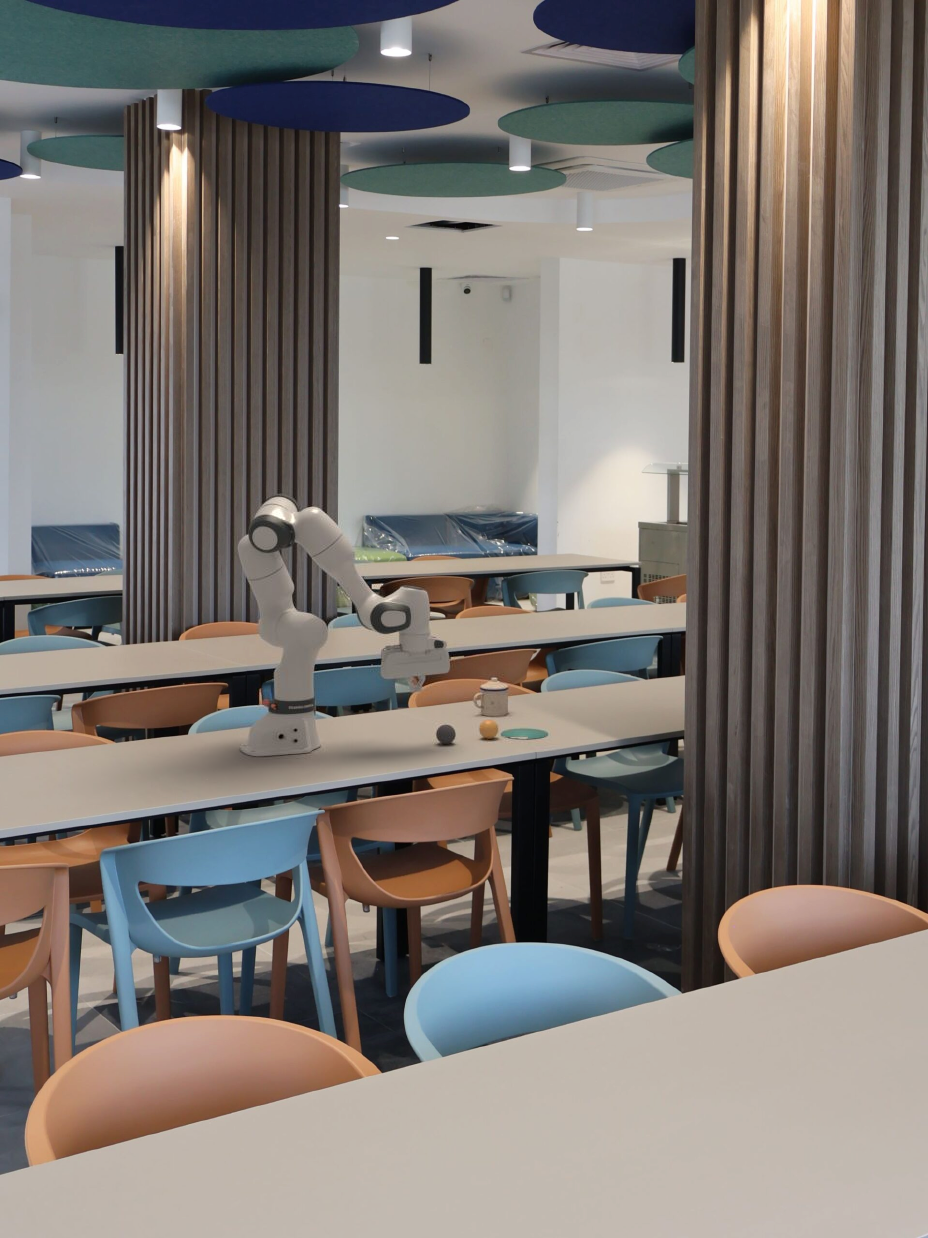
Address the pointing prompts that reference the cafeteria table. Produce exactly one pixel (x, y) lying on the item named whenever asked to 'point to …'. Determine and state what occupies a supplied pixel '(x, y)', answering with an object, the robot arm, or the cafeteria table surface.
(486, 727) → the object ball
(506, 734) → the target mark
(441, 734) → the dark grey ball
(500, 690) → the teacup with lid
